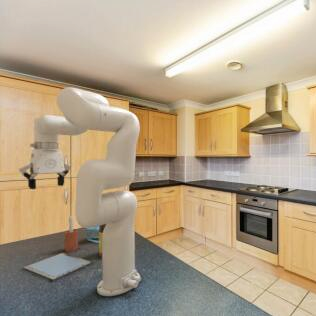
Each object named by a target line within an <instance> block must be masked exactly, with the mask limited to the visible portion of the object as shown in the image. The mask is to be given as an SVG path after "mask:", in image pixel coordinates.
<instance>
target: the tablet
mask: <svg viewBox="0 0 316 316" xmlns="http://www.w3.org/2000/svg"><path fill="white" fill-rule="evenodd" d="M91 264H92V261H90V260H87V259H83V258H81V257H78V256H75V255H70V254H68V253H65V252H61V253H58V254H56V255H53V256H50V257H48V258H44V259H41V260H40V261H37V262H34V263H31V264H28V265H26V266H23V269H25V270H27V271H29V272H32V273H34V274H36V275H39V276H41V277H44V278H46V279H48V280H49V281H51V282H54V281H56V280H60V279H61V278H63V277H66V276H68V275H70V274H72V273H74V272H77V271H78V270H80V269H81V270H82V269H83V268H85V267H88V266H89V265H91Z"/></svg>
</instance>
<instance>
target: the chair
mask: <svg viewBox="0 0 316 316" xmlns="http://www.w3.org/2000/svg"><path fill="white" fill-rule="evenodd" d="M85 231H86V233H87V235H86V236H87V237H86V240H87V241H88V242H92V243H95V244H99V240H95V239H99V236H96V235H97V233H98V232H99V226H97V227H93V228H85ZM92 232H93V233H92ZM91 233H92V235H91Z"/></svg>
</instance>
